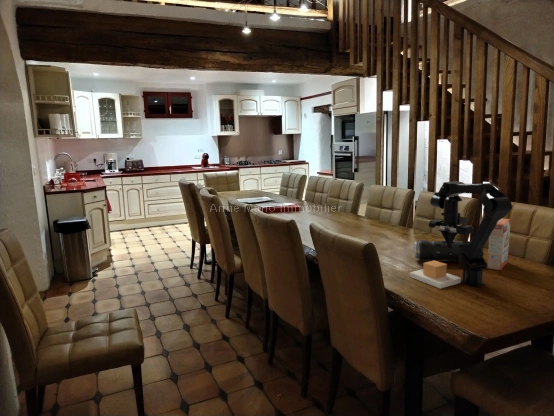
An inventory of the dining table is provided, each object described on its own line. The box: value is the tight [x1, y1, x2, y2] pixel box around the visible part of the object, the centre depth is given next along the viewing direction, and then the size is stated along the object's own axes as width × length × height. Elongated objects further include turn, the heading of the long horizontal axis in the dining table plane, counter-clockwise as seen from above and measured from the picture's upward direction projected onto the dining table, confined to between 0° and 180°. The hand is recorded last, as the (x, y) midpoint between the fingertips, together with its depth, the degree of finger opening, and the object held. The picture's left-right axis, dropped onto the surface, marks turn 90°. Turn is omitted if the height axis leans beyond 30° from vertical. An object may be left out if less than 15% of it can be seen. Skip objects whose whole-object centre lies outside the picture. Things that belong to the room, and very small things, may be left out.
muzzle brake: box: [413, 239, 471, 263], centre depth 184 cm, size 10×28×10 cm, turn 79°
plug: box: [422, 260, 448, 279], centre depth 162 cm, size 6×6×7 cm
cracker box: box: [486, 217, 512, 271], centre depth 174 cm, size 14×6×21 cm, turn 139°
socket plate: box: [409, 268, 462, 289], centre depth 162 cm, size 16×12×2 cm
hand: (449, 245), depth 168 cm, fingers closed
